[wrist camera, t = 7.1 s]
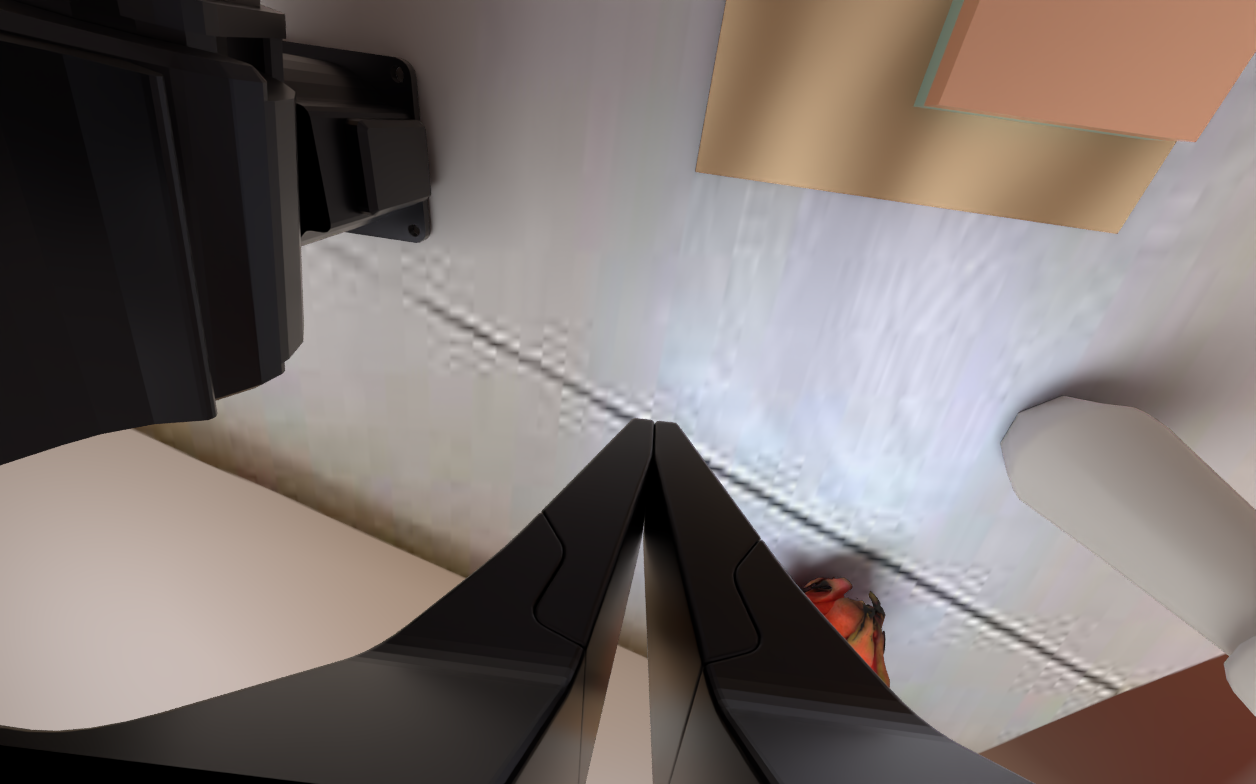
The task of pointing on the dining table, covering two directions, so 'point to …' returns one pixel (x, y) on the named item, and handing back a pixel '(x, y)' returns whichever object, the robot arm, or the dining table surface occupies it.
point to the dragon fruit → (853, 620)
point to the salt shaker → (1145, 515)
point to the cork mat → (896, 121)
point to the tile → (1092, 63)
